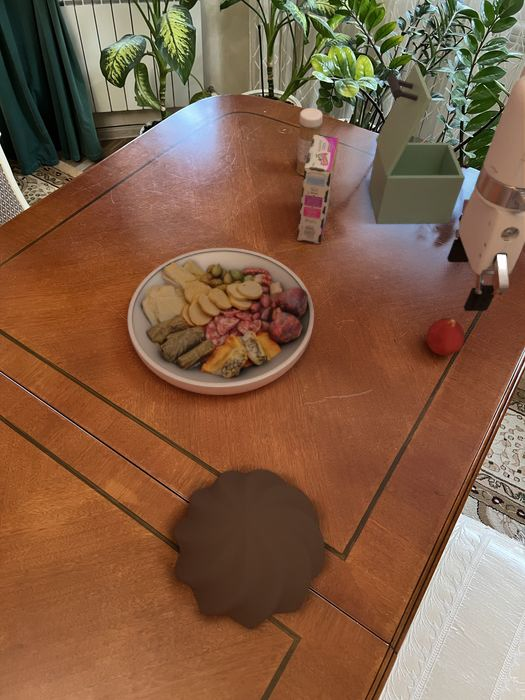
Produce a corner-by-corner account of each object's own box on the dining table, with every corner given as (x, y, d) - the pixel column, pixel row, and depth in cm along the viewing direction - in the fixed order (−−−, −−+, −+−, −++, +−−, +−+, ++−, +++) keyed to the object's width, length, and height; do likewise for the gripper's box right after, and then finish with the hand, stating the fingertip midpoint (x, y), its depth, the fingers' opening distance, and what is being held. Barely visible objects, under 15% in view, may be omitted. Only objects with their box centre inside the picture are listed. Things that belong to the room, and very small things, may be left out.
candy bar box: (321, 245, 110) (331, 172, 97) (296, 241, 110) (302, 168, 97) (329, 209, 117) (340, 136, 104) (305, 205, 117) (312, 132, 104)
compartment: (436, 188, 122) (450, 142, 113) (448, 223, 115) (465, 177, 106) (368, 188, 121) (377, 142, 113) (376, 224, 114) (387, 177, 106)
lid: (418, 65, 101) (390, 56, 100) (432, 99, 94) (402, 90, 92) (379, 140, 112) (354, 134, 111) (389, 176, 105) (362, 169, 104)
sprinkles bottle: (317, 166, 126) (324, 108, 115) (315, 178, 123) (321, 120, 112) (297, 163, 126) (301, 105, 116) (294, 175, 123) (298, 117, 113)
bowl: (134, 416, 86) (125, 386, 79) (130, 276, 104) (123, 242, 98) (329, 392, 89) (335, 362, 83) (293, 260, 107) (295, 227, 101)
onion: (419, 336, 96) (431, 304, 90) (453, 338, 96) (467, 306, 90) (424, 364, 93) (436, 333, 86) (459, 365, 93) (475, 334, 86)
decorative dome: (166, 629, 68) (155, 607, 60) (180, 474, 80) (172, 439, 72) (328, 629, 68) (338, 607, 60) (318, 475, 80) (325, 440, 72)
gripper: (566, 230, 63) (509, 330, 77) (518, 143, 74) (475, 244, 88) (500, 230, 63) (454, 330, 77) (461, 142, 74) (427, 244, 87)
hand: (465, 284), depth 82 cm, fingers open, 9 cm apart
